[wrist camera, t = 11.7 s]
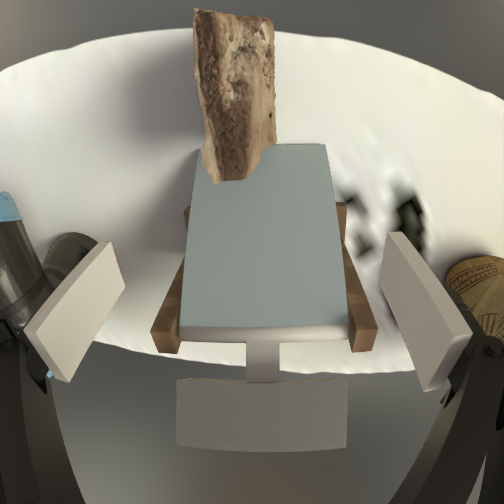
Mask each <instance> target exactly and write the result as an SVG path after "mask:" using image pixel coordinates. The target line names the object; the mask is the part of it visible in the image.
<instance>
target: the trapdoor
mask: <svg viewBox="0 0 504 504" xmlns="http://www.w3.org/2000/svg"><path fill="white" fill-rule="evenodd" d="M212 183H213V180H212V176H211V174H208V171H207V170H203V162H202V153H201V151H200V150H199V151H198V158H197V164H196V171H195V178H194V185H193V192H192V200H191V208H190V216H189V224H188V233H187V242H186V252H185V262H184V273H183V285H182V298H181V312H180V330H179V337H180V340H181V341H190V342H217V343H246V380H222V379H202V378H195V379H179V380H177V399H176V402H177V403H176V431H177V432H176V433H177V434H176V435H177V436H176V437H177V445H181V446H189V447H196V448H205V449H216V450H229V451H248V452H291V451H292V452H294V451H313V450H325V449H336V448H345V447H346V437H347V380H346V379H338V378H321V379H302V380H279V343H286V342H313V341H331V340H346V339H348V310H347V297H346V285H345V275H344V265H343V256H342V247H341V239H340V231H339V223H338V216H337V209H336V203H335V196H334V190H333V184H332V178H331V172H330V167H329V161H328V156H327V151H326V146H325V145H324V144H305V145H271V146H269V147H267V148H266V149H264V151H263V153H262V154H261V157H260V162H259V163H258V165H257V166H256V167H255V170H254V171H253V173H252V174H251V175H249V176H248V177H247V178H245V179H243V180H237V181H223V182H220V183H218V184H216V185H214V186H212Z"/></svg>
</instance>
